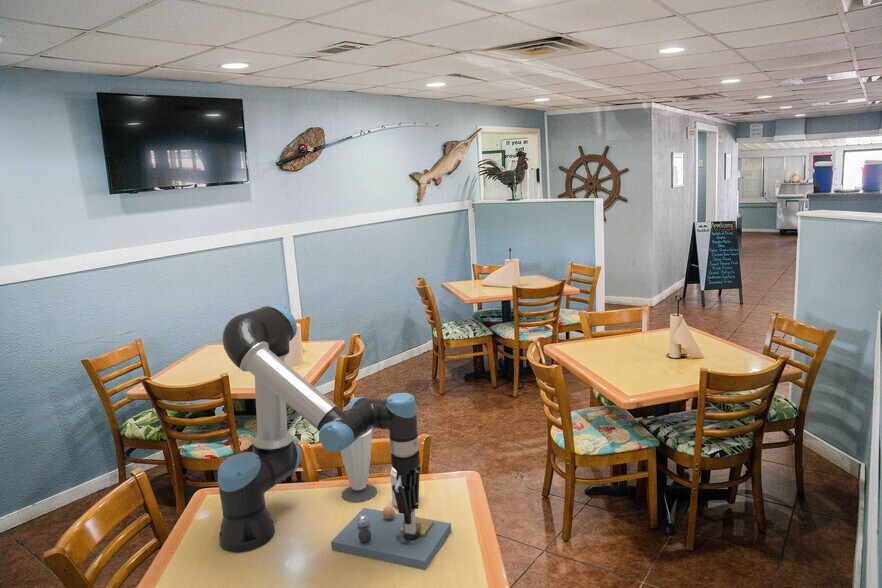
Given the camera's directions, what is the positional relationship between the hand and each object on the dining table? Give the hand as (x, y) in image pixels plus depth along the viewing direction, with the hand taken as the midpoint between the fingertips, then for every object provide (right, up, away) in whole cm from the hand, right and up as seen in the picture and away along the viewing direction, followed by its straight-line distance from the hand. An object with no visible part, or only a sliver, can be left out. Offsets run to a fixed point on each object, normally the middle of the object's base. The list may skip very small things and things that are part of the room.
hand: (410, 532), depth 167 cm
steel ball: (-14, +1, +6) cm, 15 cm away
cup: (-18, +1, +30) cm, 35 cm away
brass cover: (+2, 0, +4) cm, 4 cm away
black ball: (-12, -1, -1) cm, 12 cm away
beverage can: (-3, 0, +23) cm, 23 cm away
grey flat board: (-5, -4, +3) cm, 7 cm away
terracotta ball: (-7, +2, +10) cm, 12 cm away
